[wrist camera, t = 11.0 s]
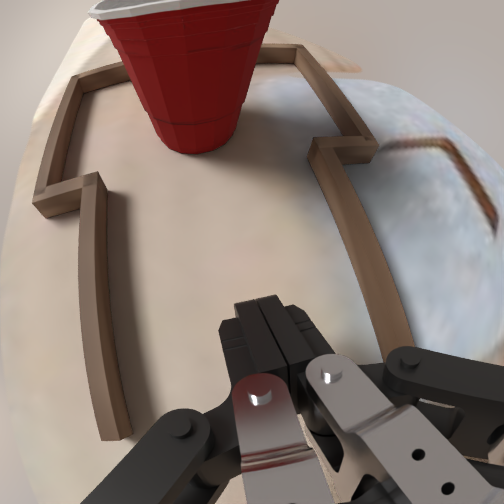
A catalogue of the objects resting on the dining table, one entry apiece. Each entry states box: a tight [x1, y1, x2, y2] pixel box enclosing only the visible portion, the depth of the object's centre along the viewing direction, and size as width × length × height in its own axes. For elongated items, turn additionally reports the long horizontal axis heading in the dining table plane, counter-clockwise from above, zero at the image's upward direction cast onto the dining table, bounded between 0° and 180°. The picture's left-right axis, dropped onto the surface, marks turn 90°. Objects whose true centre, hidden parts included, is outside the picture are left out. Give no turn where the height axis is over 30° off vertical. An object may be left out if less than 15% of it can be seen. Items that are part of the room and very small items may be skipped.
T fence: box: [32, 44, 415, 441], centre depth 18 cm, size 24×30×2 cm
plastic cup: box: [88, 0, 279, 154], centre depth 15 cm, size 11×11×12 cm
